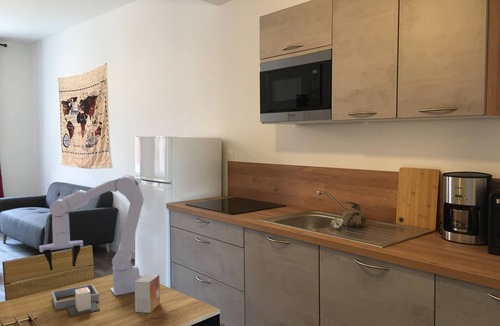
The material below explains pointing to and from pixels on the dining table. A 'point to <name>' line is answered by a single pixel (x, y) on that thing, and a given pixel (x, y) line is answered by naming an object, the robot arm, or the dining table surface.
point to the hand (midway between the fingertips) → (62, 267)
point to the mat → (74, 311)
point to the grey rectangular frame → (71, 292)
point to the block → (83, 299)
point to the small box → (147, 293)
